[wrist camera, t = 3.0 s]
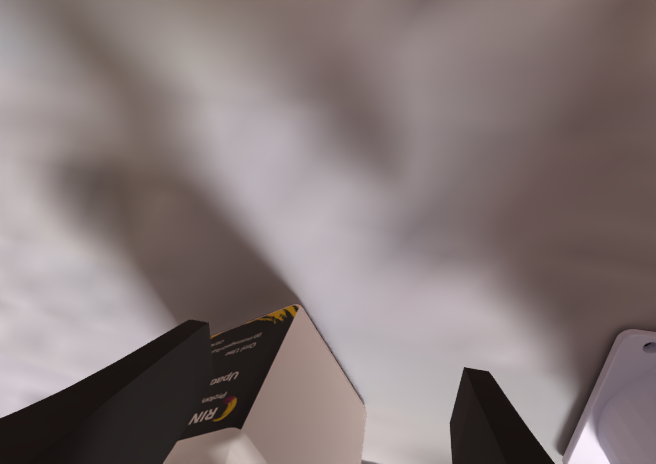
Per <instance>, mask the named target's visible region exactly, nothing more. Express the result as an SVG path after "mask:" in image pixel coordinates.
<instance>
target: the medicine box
mask: <svg viewBox="0 0 656 464" xmlns="http://www.w3.org/2000/svg"><path fill="white" fill-rule="evenodd" d="M210 340H211V350H212V360H213V370H214V378H213V380H212V382H211V384H210V386H209V388H208V390H207V392H206V394H205V396H204V398H203V400H202V402H201V404H200V406H199V408H198V410H197V412H196V413H195V415H194V416H193V418H192V420H191V421H190V423H189V424H188V426H187V427H186V429H185V430H184V432H183V434H182V435H181V437H180V438H179V440H178V441H177V443H176V444H175V446H174V447H173V449H172V450H171V452H170V453H169V455H168V457H167V458H166V460H165V461H164V463H163V464H361V459H362V450H363V441H364V432H365V423H366V414H367V412H366V408H365V406H364V404H363V403H362V401H361V400H360V398H359V397H358V395H357V393H356V392H355V390H354V389H353V387H352V385H351V384H350V382H349V381H348V379H347V377H346V376H345V374H344V373H343V371H342V369H341V368H340V366H339V365H338V363H337V361H336V360H335V358H334V357H333V355H332V353H331V352H330V350H329V349H328V347H327V345H326V344H325V342H324V341H323V339H322V338H321V336H320V334H319V333H318V331H317V330H316V328H315V326H314V325H313V323H312V322H311V320H310V318H309V317H308V315H307V314H306V312H305V310H304V309H303V307H302V306H301V305H298V304H293V305H290V306H288V307H285V308H283V309H280V310H277V311H275V312H272V313H270V314H267V315H264V316H262V317H259V318H257V319H254V320H252V321H249V322H246V323H244V324H241V325H239V326H236V327H233V328H231V329H228V330H226V331H223V332H220V333H218V334H215V335H213V336H210Z"/></svg>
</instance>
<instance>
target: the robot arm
mask: <svg viewBox="0 0 656 464" xmlns="http://www.w3.org/2000/svg"><path fill="white" fill-rule="evenodd" d="M649 342H652V343H651V344H650V345H648V346H644V345H645V344H647V343H649ZM213 378H214V370H213V360H212V350H211V340H210V330H209V323H207V322H201V321H195V320H188V321H186V322H184V323H182V324H181V325H179V326H177V327H175V328H174V329H172V330H170V331H168V332H167V333H165V334H163V335H162V336H160V337H158V338H156V339H155V340H153V341H151V342H150V343H148V344H146V345H144V346H143V347H141V348H139V349H138V350H136V351H134V352H132V353H131V354H129V355H127V356H125V357H124V358H122V359H120V360H118V361H117V362H115V363H113V364H111V365H109V366H107V367H106V368H104V369H102V370H100V371H98V372H96V373H94V374H92V375H91V376H89V377H87V378H85V379H83V380H81V381H79V382H77V383H76V384H74V385H72V386H70V387H68V388H66V389H64V390H62V391H60V392H58V393H56V394H54V395H51V396H49V397H47V398H45V399H43V400H41V401H39V402H36V403H34V404H32V405H30V406H28V407H25V408H23V409H21V410H19V411H17V412H14V413H12V414H10V415H7V416H5V417H2V418H0V464H163V463H164V461H165V460H166V458H167V457H168V455H169V453H170V452H171V450H172V449H173V447H174V446H175V444H176V443H177V441H178V440H179V438H180V437H181V435H182V434H183V432H184V430H185V429H186V427H187V426H188V424H189V423H190V421H191V420H192V418H193V416H194V415H195V413H196V412H197V410H198V408H199V406H200V404H201V402H202V400H203V398H204V396H205V394H206V392H207V390H208V388H209V386H210V384H211V382H212V380H213ZM450 435H451V451H452V464H555V463H554V462H553V461H552V459H551V458H550V457H549V455H548V454H547V453H546V451H545V450H544V449H543V447H542V446H541V445H540V443H539V442H538V441H537V439H536V438H535V437H534V435H533V434H532V432H531V431H530V430H529V428H528V427H527V425H526V424H525V423H524V421H523V420H522V418H521V417H520V416H519V414H518V413H517V411H516V410H515V408H514V407H513V406H512V404H511V403H510V401H509V400H508V398H507V397H506V395H505V394H504V392H503V391H502V389H501V388H500V387H499V385H498V384H497V382H496V381H495V379H494V378H493V376H492V375H491V374H490V372H489V371H483V370H477V369H471V368H466V367H464V370H463V374H462V378H461V382H460V385H459V389H458V393H457V397H456V401H455V405H454V409H453V413H452V417H451V421H450ZM562 462H563V464H656V332H652V331H645V330H638V329H629V330H625V331H623V332H621V333H620V334H619V335H618V336H617V337H616V340H615V342H614V344H613V346H612V349H611V351H610V353H609V355H608V357H607V360H606V362H605V364H604V366H603V369H602V371H601V373H600V375H599V378H598V380H597V382H596V384H595V387H594V389H593V391H592V393H591V396H590V398H589V400H588V402H587V404H586V407H585V409H584V411H583V413H582V416H581V418H580V420H579V422H578V425H577V427H576V429H575V431H574V434H573V436H572V438H571V440H570V443H569V445H568V447H567V449H566V452H565V454H564V456H563V459H562Z"/></svg>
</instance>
